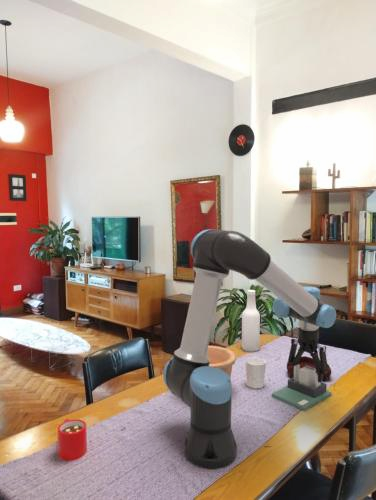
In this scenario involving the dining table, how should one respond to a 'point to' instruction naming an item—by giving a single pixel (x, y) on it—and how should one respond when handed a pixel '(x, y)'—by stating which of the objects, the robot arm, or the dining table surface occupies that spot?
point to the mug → (72, 439)
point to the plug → (307, 376)
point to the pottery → (221, 358)
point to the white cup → (255, 372)
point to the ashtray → (308, 362)
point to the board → (302, 394)
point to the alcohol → (250, 324)
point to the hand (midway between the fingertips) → (306, 385)
